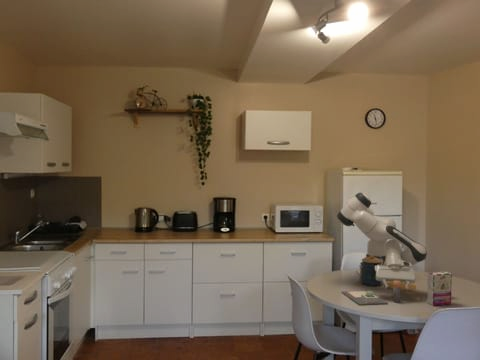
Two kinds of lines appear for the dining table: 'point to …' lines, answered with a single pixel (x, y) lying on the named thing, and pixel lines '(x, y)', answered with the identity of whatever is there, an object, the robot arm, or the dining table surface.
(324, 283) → the dining table surface
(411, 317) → the dining table surface
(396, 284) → the marker
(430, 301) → the candy bar box
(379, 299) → the board
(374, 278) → the canister
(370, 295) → the button
